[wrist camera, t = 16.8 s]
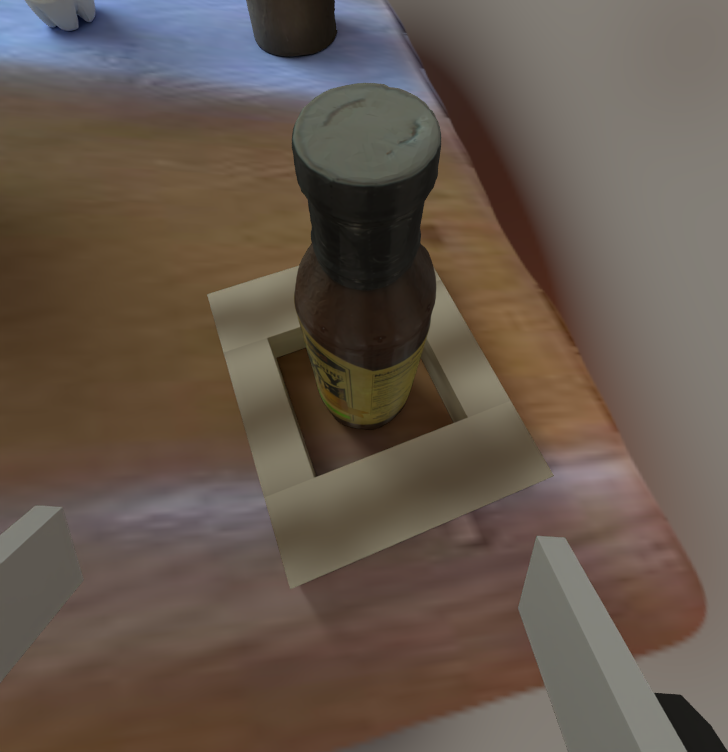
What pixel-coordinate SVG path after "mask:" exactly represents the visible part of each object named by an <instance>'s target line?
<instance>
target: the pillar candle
mask: <svg viewBox="0 0 728 752" xmlns="http://www.w3.org/2000/svg"><path fill="white" fill-rule="evenodd" d="M246 1H247V6H248V11H249V15H250V19H251V24H252V28H253V33H254V37H255V40H256V42H257V44H258V45H259V46H260V47H261V48H262V49H263V50H265V51H266V52H268V53H271V54H274V55H279V56H286V57H288V56H299V55H308V54H313V53H316V52H318V51H321V50H323V49H324V48H326V47H327V46H329V45H330V44H331V43H332V42H333V41H334V38H335V37H336V35H337V30H336V23H335V15H334V11H335V8H334V7H335V5H334V3H335V1H334V0H246Z"/></svg>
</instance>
